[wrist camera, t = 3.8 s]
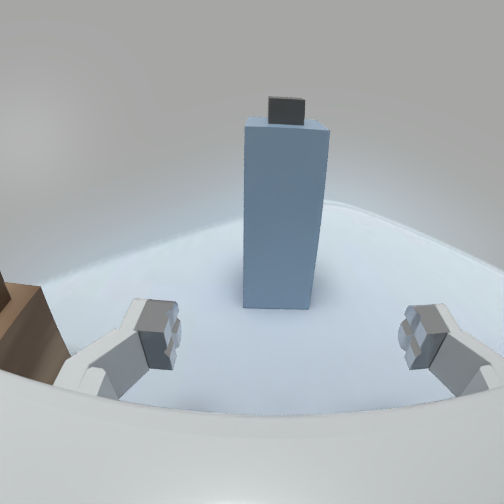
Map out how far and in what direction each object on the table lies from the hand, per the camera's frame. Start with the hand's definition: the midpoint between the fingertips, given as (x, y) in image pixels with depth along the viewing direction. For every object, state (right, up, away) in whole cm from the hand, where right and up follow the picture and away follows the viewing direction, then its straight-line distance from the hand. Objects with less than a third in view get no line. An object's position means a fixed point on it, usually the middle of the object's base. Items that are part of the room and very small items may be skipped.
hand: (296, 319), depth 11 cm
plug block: (0, 0, +13) cm, 13 cm away
